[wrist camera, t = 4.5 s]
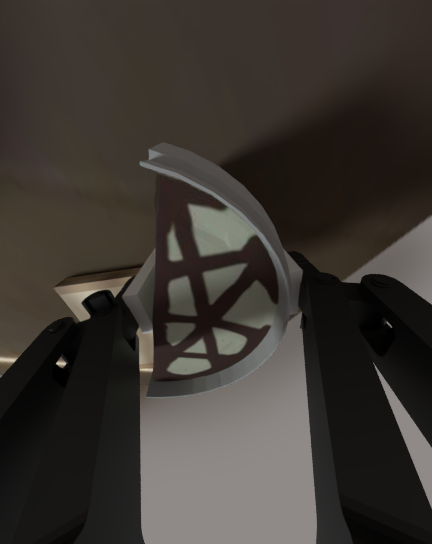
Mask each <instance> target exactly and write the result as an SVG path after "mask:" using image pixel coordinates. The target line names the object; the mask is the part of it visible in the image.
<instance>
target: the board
mask: <svg viewBox="0 0 432 544" xmlns="http://www.w3.org/2000/svg"><path fill="white" fill-rule="evenodd" d="M141 268H142V267H139V268H132V269H126V270H119V271H112V272H105V273H98V274H91V275H85V276H78V277H71V278H66V279H64V280H63V281H62V282H60V283H59V284H58V285H56V286H55V287H54V289H55V291H56V292H57V293H58V294H59V295H60V296H61V297H62V299H63V300H64V301H65V302H66V304H67V305H68V306H69V307H70V309H71V310H72V311H73V312H74V314H75V315H76V316H77V317H78V319H79V320H80V321H84V320H87V319H90V315H89V313H88V312H87V311H86V309H85V308H84V307H83V305H82V304H81V302H82V301H83V300H84V299H85V298H86V297H88V296H89V295H91V294H93V293H95V292H97V291H100V290H110V291H111V292H112V294H113V295H114V297H116V295H117V294H118V293H119V291H121V289H122V287H124V284H125V283H126V282H127V280H129V279H130V278H131V277H133V276H136V275H137V274H138V272H139V271H140V269H141ZM137 335H138V337H139V369H144V368H153V333H145V334H143V333H142V331H141V329H140V328H138V330H137Z"/></svg>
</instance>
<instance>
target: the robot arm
mask: <svg viewBox="0 0 432 544" xmlns="http://www.w3.org/2000/svg"><path fill="white" fill-rule="evenodd" d="M283 251H284V254H285V257H286V261H287V264H288V268H289V274H290V281H291V303H290V315H292V314H297V313H298V306H299V307H300V309H301V311H302V318H301V325H300V328H301V329H302V332H303V345H304V357H305V370H306V383H307V396H308V409H309V422H310V435H311V447H312V460H313V473H314V486H315V499H316V510H317V511H316V513H317V539H316V544H432V508H431V506H430V504H429V501H428V499H427V496H426V494H425V491H424V489H423V486H422V484H421V481H420V479H419V476H418V474H417V471H416V469H415V466H414V464H413V461H412V459H411V456H410V454H409V451H408V449H407V446H406V444H405V441H404V439H403V436H402V434H401V431H400V429H399V426H398V424H397V421H396V419H395V416H394V414H393V411H392V409H391V406H390V404H389V401H388V399H387V396H386V394H385V391H384V389H383V386H382V384H381V381H380V379H379V376H378V374H377V371H376V369H375V366H374V364H375V365H376V367H377V368H378V370H379V371H380V373H381V374H382V376H383V377H384V379H385V380H386V382H387V383H388V384H389V386H390V387H391V389H392V390H393V392H394V393H395V395H396V396H397V397H398V399H399V400H400V402H401V403H402V405H403V406H404V408H405V409H406V411H407V412H408V414H409V415H410V417H411V418H412V419H413V421H414V422H415V424H416V425H417V427H418V428H419V430H420V431H421V432H422V434H423V436H424V437H425V438H426V440H427V441H428V443H429V444H430V446H431V447H432V305H431V304H430V303H428V302H427V301H426V300H425V299H423V298H422V297H420V296H419V295H418V294H416V293H415V292H414V291H412V290H411V289H409V288H408V287H407V286H405V285H404V284H403V283H401V282H400V281H398V280H396V279H394V278H391V277H389V276H386V275H381V274H369V275H365V276H363V277H362V279H361V282H360V283H345V282H341V281H340V280H339V279H338V278H337V277H336V276H334V275H332V274H328V273H322V272H320V271H319V270H317V269H316V268H315V267H314V266H313V265H312V264H311V263H310V262H309V261H308V260H307V259H306V258H305V257H304V256H303V255H302V254H300V253H298V252H296V251H291V252H286V251H285V250H284V249H283ZM155 254H156V247H155V249H154V250H153V252H152V253H151V255H150V256H149V258H148V259H147V261H146V262H145V264H144V265H143V266H142V268H141V269H140V271H139V272H138V274H137V275H136V276H133V277H131V278H130V279H129V280H127V282H126V283H125V284H124V287H122V289H121V291H119V293H118V294H117V295H116V297H114V295H113V294H112V292H111V291H110V290H100V291H97V292H95V293H93V294H91V295H89V296H88V297H86V298H85V299H84V300H83V301H82V302H81V304H82V305H83V307H84V308H85V309H86V311H87V312H88V313H89V315H90V319H87V320H84V321H81V322H78V323H77V322H76V321H75V320H74V319H73V318H72V317H65V318H62V319H59V320H57V321H55V322H53V323H52V324H50V325H49V326H48V327H46V328H45V329H44V330H43V331H42V332H41V333H40V335H39V336H38V337H37V338H36V339H35V340H34V341H33V342H32V343H31V345H30V346H29V347H28V348H27V349H26V350H25V351H24V352H23V353H22V355H21V356H20V357H19V358H18V359H17V360H16V361H15V362H14V363H13V365H12V366H11V367H10V368H9V369H8V370H7V371H6V372H5V373H4V375H3V376H2V377H1V378H0V544H145V543H144V540H143V536H142V530H141V482H140V481H141V477H140V476H141V475H140V371H139V337H138V335H137V330H138V328H140V329H141V331H142V333H143V334H145V333H153V326H152V317H153V300H154V282H155ZM387 321H388V322H389V323H390V324H391V326H392V327H393V328H391V327H390V326H389V325H388V324H387V323H386V322H387ZM60 357H61V358H62V359H63V360H64V361H65V362H66V363H67V364H66V365H65V366H64V368H63V369H62V368H60V367H59V366H58V365H57V364H56V362H57V361H58V359H59V358H60ZM373 363H374V364H373Z"/></svg>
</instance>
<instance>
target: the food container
mask: <svg viewBox="0 0 432 544" xmlns="http://www.w3.org/2000/svg"><path fill="white" fill-rule="evenodd" d="M140 166H143V167H146V168H149V169H151V170H154V171H157V176H156V194H155V208H156V254H155V282H154V300H153V317H152V326H153V372H152V376H151V380H150V384H149V388H148V392H147V395H146V398H175V397H184V396H192V395H197V394H202V393H207V392H210V391H213V390H216V389H220V388H223V387H225V386H228V385H230V384H232V383H235V382H237V381H239V380H240V379H242V378H244V377H246V376H247V375H249V374H250V373H252V372H253V371H255V370H256V369H257V368H259V367H260V366H261V365H262V364H263V363H264V362H265V361H266V360H267V359H268V358H269V357H270V356H271V355H272V353H273V352H274V351H275V349H276V348H277V347H278V345H279V343H280V341H281V339H282V337H283V335H284V333H285V331H286V327H287V324H288V320H289V316H290V303H291V281H290V274H289V268H288V264H287V261H286V257H285V254H284V251H283V247H282V245H281V242H280V239H279V237H278V234H277V232H276V229H275V227H274V225H273V223H272V222H271V220H270V218H269V217H268V215H267V213H266V212H265V210H264V209H263V207H262V205H261V204H260V203H259V202H258V201H257V200H256V199H255V198H254V197H253V195H252V194H251V193H250V192H249V191H248V190H247V189H246V188H245V187H244V185H242V184H241V183H240V182H238V181H237V180H236V179H235V178H233V177H232V176H231V175H230V174H228V173H227V172H226V171H224V170H223V169H222V168H221V167H219V166H217V165H215V164H214V163H212V162H210V161H208V160H206V159H204V158H202V157H201V156H199V155H197V154H195V153H193V152H191V151H188V150H185V149H182V148H179V147H176V146H173V145H171V144H168V143H165V142H162V143H160V144H158V145H156V146H154V147H152V148H150V149H149V160H146V161H140Z"/></svg>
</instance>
